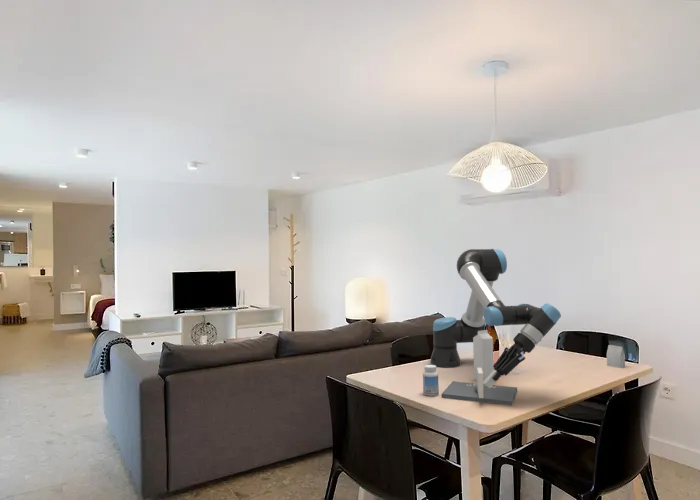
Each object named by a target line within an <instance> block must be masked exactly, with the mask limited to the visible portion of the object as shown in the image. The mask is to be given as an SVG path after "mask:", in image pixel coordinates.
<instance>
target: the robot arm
mask: <svg viewBox="0 0 700 500" xmlns="http://www.w3.org/2000/svg"><path fill="white" fill-rule="evenodd" d="M507 267H508V262H507V257H506V254H505V252H504V251H502V249H500V248H499V249H498V248H487V249H486V248H484V249H483V248H480V249H479V248H478V249H477V248H476V249H475V248H472V249H467V250H465V251H463V252H462V253H461V254H460V255H459V257H458V259H457V261H456V269H457V273H458V275H459V276H460V278H461V279H463V280H465V281H466V283H467V285H468V286H469V288H470V289H471V293H470V297H469V299H468V300H469V301H468V302H467V308H466V311H465V312H464V313H463V314H462V315H461V318H460V319H457V318H456V317H453V316H449V317H448V316H447V317H439V318H437V319H435V320H434V321H433V324H432V335H433V336H432V337H433V339H432V340H433V350H432V353H431V356H430V359H429V360H430V363H429V365H435V366H436V368H437V367H439V368H456V367H460V366H461V361H462V360H461V358H460V355H459V352H458V348H457V347H458V344H463V343H464V344H466V343H473V337H475V336H476V335H478V331H482V330H485V326H486V325H487V326H490V327H491V326H494V327H499V326H500V327H501V326H520V325H522V326H523V325H524V326H523V327H522V328H521V330H520V332H518V333H517V334H516V335H515V336H514V337H513V342H514V343H513V344H512V345H511V346H510V347H509V348H508V347H505V348H504V350H503V352H502V353H501V355H500V356H499V358H498V359H497V360H496V361H495V363H493V372H492V373H491V374H490V375H489V376H488V377H487V378H486V380H485V381H484V382H483V383H484V384H485V385H486V386H487V387H488V388H491V387H492V386H493V385H495V384H496V383H497V381H498V380H500V378H501V377H503V376H507V375H508V374H510V372H512V371H513V370H514V369H515V368H516V367H517V366H519V364H520V363H522V362H523V361H525V360H526V357H525V354H526V353H532V351H533V350H534V349H535V347H536V345H538V344H539V343H540V342H542V340H543V338H544V337H545V336H546V335H547V334H548V333H549V332H550V331H551V329H553V328H554V326H555V325H556V324H557V323H558V321H559V319H561V317H562V314H561V312H560V311H559V309H557V308H556V307H555V306H554V305H552V304H550V303H546V302H545V303H544V304H543V305H542V306H540V307H536V306H534V305H531V304H529V303H520V304H518V305H505V303H503V302H502V300H501V299H500V297H499V295H498V294H497V293H496V291H495V290H494V289H493V284H494V282H496V281H498V279H499V276H500V275H503V274H504V273H506V271H507V269H508V268H507Z"/></svg>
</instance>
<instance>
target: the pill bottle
mask: <svg viewBox="0 0 700 500" xmlns="http://www.w3.org/2000/svg"><path fill="white" fill-rule="evenodd" d="M423 367H424V371H423V372H422V390H423V391H422V392H423V395H425V396H428V397H435V396H439V393H440V392H439V391H440V390H439V389H440V388H439V387H440V386H439V373H438V372H437V366H435V365H431V364H426V365H424V366H423Z"/></svg>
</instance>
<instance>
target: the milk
mask: <svg viewBox="0 0 700 500" xmlns="http://www.w3.org/2000/svg"><path fill="white" fill-rule="evenodd" d="M493 339H494V338H493V337H492V336H491V335H490V334H489V330H488V329H486V330H482V331H478V335H476V336H475V337H473V342H472V343H473V347H472V348H473V380H474V381H476V382H477V368H482V372H483V382H484V381H485V380H486V378H487V377H488V376H489V375H490V374H491V373H492V372H493V371H494V367H493V366H494V340H493Z"/></svg>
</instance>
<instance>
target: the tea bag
mask: <svg viewBox="0 0 700 500" xmlns="http://www.w3.org/2000/svg"><path fill="white" fill-rule="evenodd" d="M606 366H607V367H613V368H618V369H624V368H626V355H625V352H624V348H623V346H618V345H612V344H608V346H607V350H606Z"/></svg>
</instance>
